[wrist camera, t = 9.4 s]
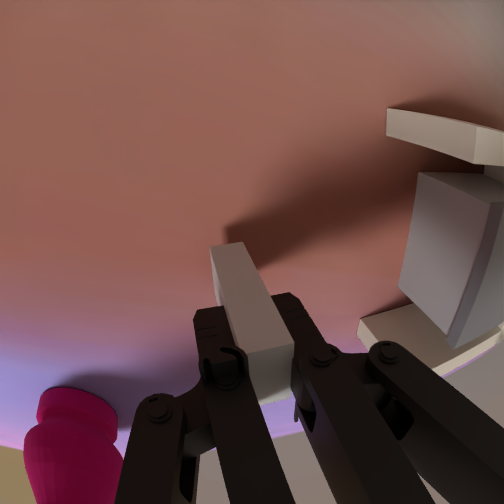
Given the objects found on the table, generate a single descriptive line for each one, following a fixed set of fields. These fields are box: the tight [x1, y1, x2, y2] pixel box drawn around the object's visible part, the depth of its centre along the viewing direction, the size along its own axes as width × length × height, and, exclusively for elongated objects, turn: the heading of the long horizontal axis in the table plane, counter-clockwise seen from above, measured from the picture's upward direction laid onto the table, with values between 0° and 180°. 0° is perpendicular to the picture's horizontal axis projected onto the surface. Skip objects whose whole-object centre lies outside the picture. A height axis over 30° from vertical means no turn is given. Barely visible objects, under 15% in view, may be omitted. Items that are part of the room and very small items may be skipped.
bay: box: [357, 108, 504, 376], centre depth 16 cm, size 15×12×6 cm
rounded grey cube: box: [398, 172, 504, 350], centre depth 16 cm, size 8×7×7 cm
